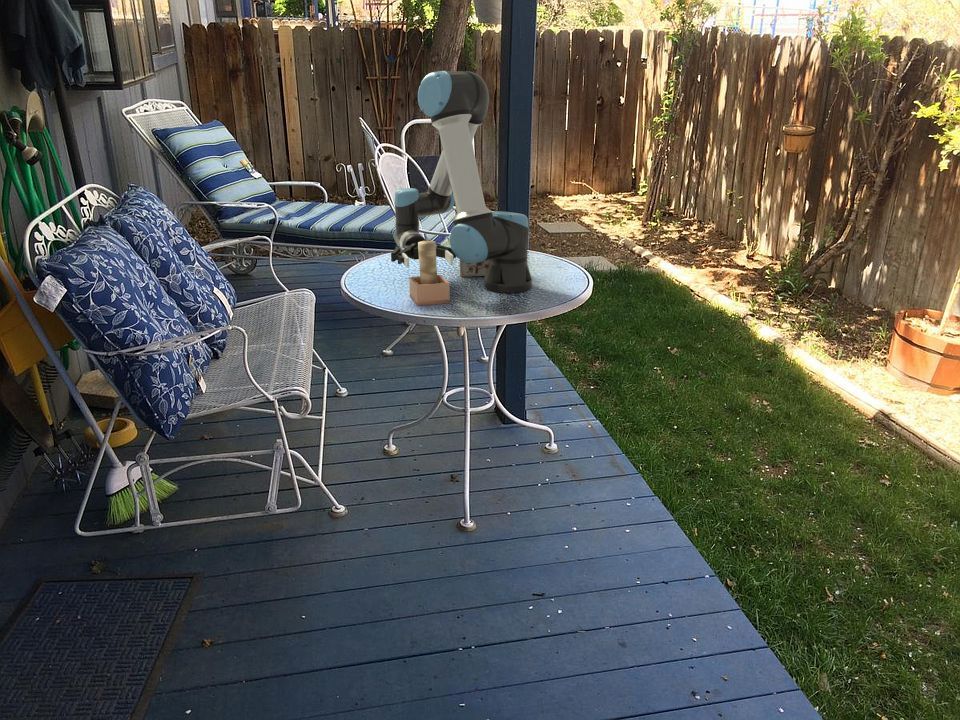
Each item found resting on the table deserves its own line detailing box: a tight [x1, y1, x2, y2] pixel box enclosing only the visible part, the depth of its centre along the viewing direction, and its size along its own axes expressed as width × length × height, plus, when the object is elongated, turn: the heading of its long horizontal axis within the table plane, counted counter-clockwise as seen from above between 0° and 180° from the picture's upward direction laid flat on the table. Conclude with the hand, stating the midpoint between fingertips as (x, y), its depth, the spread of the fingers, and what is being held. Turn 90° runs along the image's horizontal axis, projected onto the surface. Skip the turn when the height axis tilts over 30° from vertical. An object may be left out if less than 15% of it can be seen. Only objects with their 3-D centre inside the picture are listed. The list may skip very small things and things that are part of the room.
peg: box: [418, 240, 438, 285], centre depth 217 cm, size 5×5×16 cm
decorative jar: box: [459, 259, 490, 278], centre depth 246 cm, size 12×12×18 cm
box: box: [408, 274, 451, 307], centre depth 219 cm, size 10×10×6 cm
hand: (430, 261), depth 212 cm, fingers open, 12 cm apart
